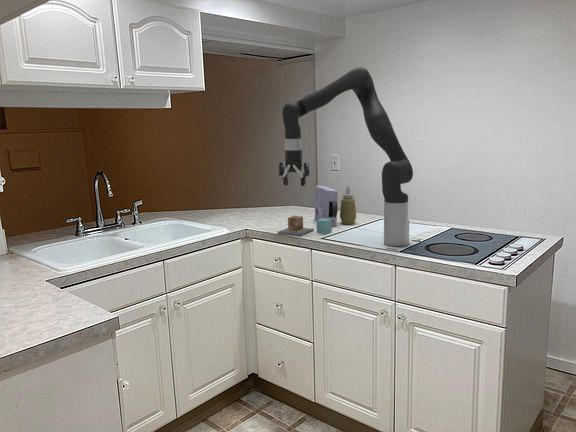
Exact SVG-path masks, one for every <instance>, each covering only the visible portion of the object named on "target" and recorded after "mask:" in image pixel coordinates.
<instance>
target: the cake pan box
mask: <svg viewBox="0 0 576 432" xmlns="http://www.w3.org/2000/svg"><path fill="white" fill-rule="evenodd" d="M314 190H315V195H314V196H315V197H314V199H315V200H314V201H315V202H314V220H315V221H316V222H317V220H319V219H321V218H324V219H332V227H337V226H338V223H337V220H338V219H337V216H338V209H339V207H338V190H336V189H332V188H330V187H327V186H325V185H316V186H315V189H314Z"/></svg>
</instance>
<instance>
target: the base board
mask: <svg viewBox="0 0 576 432" xmlns="http://www.w3.org/2000/svg"><path fill="white" fill-rule="evenodd" d="M314 229H315V228H308V227H303V230H301V231H298V232H296V231H288V227H286V228H284V229H281V230H280V231H277V235H284V236H285V235H286V236H291V237H292V236H293V237H300V238H301V237H303V236H305V235H308V234H310V233H313V232H315V231H314Z"/></svg>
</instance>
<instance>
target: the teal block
mask: <svg viewBox="0 0 576 432" xmlns="http://www.w3.org/2000/svg"><path fill="white" fill-rule="evenodd" d="M332 230H333V228H332V219H324V218H321V219H319V220H317V221H316V234H319V235H321V234H322V235H328V234H331V233H332V232H333V231H332Z"/></svg>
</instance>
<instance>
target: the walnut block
mask: <svg viewBox="0 0 576 432" xmlns="http://www.w3.org/2000/svg"><path fill="white" fill-rule="evenodd" d="M287 228H288V231H296V232H298V231H301V230H303V228H304V216H300V215H299V216H298V215H292V216H289V217H287Z"/></svg>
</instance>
